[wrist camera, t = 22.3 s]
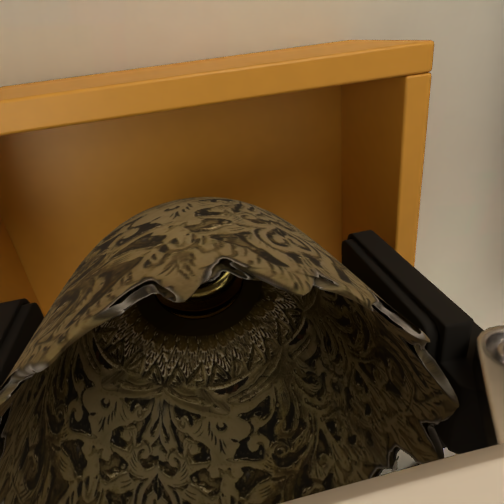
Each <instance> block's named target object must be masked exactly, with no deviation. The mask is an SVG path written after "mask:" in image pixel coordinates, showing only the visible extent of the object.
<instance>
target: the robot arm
mask: <svg viewBox="0 0 504 504" xmlns="http://www.w3.org/2000/svg"><path fill="white" fill-rule="evenodd" d="M341 255H342V264H343V265H344V266H345V267H346V268H347V269H348V270H350V271H351V272H352V273H353V274H354V275H355V276H356V277H358V278H359V279H360V280H361V281H362V282H363V283H364V284H366V285H367V286H368V287H369V288H370V289H371V290H372V291H373V292H375V293H376V294H377V295H378V296H379V297H380V298H381V299H383V300H384V301H385V302H386V303H387V304H388V305H390V306H391V307H392V308H393V309H394V310H396V311H397V312H398V313H399V314H400V315H402V316H403V317H404V318H406V319H407V320H409V321H410V322H411V323H413V324H414V325H415V326H416V327H418V328H419V329H420V330H421V331H423V332H424V333H425V334H426V336H427V337H428V338H429V339H430V343H426V345H425V347H424V348H425V349H426V351H427V352H428V353H429V354H430V355H431V356H432V357H433V358H434V360H435V361H436V363H437V364H438V366H439V367H440V369H441V370H442V372H443V373H444V375H445V376H446V378H447V380H448V381H449V383H450V385H451V386H452V388H453V390H454V392H455V394H456V396H457V398H458V401H459V407H458V408H457V409H456V410H455V412H454V413H453V415H451V416H450V417H449V418H448V419H447V420H445V421H441V422H440V423H438V424H437V425H433V426H434V428H435V430H436V433H437V435H438V437H439V440H440V442H441V444H442V448H445V447H447V448H448V450H449V451H452V452H454V453H456V455H455V456H451V457H447V458H443V459H440V460H436V461H432V462H429V463H425V464H421V465H418V466H414V467H410V468H407V469H403V470H400V471H396V472H392V473H389V474H385V475H381V476H378V477H374V478H370V479H367V480H363V481H359V482H356V483H352V484H348V485H345V486H341V487H337V488H334V489H330V490H326V491H323V492H319V493H316V494H312V495H308V496H305V497H301V498H298V499H294V500H290V501H287V502H283V503H280V504H504V326H496V327H491V328H488V329H486V330H483V329H481V328H480V327H479V326H478V325H477V324H476V323H475V322H474V321H473V319H472V318H471V317H470V316H468V315H467V314H466V313H465V312H464V311H463V310H462V309H461V308H459V307H458V306H457V305H456V304H455V303H454V302H453V301H452V300H450V299H449V298H448V297H447V296H446V295H445V294H444V293H443V292H441V291H440V290H439V289H438V288H437V287H436V286H435V285H434V284H432V283H431V282H430V281H429V280H428V279H427V278H426V277H424V276H423V275H422V274H421V273H420V272H419V271H418V270H417V269H415V268H414V267H413V266H412V265H411V264H410V263H409V262H408V261H406V260H405V259H404V258H403V257H402V256H401V255H400V254H399V253H397V252H396V251H395V250H394V249H393V248H392V247H391V246H390V245H388V244H387V243H386V242H385V241H384V240H383V239H382V238H381V237H379V236H378V235H377V234H376V233H375V232H374V231H372V230H366V231H361V232H356V233H351V234H349V235H348V238H347V240H344V241H343V242H342V246H341ZM43 319H44V316H43V314H42V312H41V309H40V307H39V306H38V304H37V303H35V302H34V303H30V302H29V301H28V300H27V299H25V298H23V299H18V300H13V301H8V302H3V303H0V387H1V386H2V384H3V383H4V381H5V380H6V378H7V377H8V375H9V374H10V372H11V370H12V369H13V367H14V366H15V364H16V362H17V361H18V359H19V358H20V356H21V354H22V353H23V351H24V350H25V348H26V346H27V345H28V343H29V341H30V340H31V338H32V337H33V335H34V333H35V332H36V330H37V328H38V327H39V325H40V324H41V322H42V320H43Z"/></svg>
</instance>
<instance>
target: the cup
mask: <svg viewBox="0 0 504 504" xmlns="http://www.w3.org/2000/svg"><path fill="white" fill-rule="evenodd" d="M426 343H430V339H429V338H428V337H427V336H426V334H425V333H424V332H423V331H421V330H420V329H419V328H418V327H416V326H415V325H414V324H413V323H411V322H410V321H409V320H407V319H406V318H404V317H403V316H402V315H400V314H399V313H398V312H397V311H396V310H394V309H393V308H392V307H391V306H390V305H388V304H387V303H386V302H385V301H384V300H383V299H381V298H380V297H379V296H378V295H377V294H376V293H375V292H373V291H372V290H371V289H370V288H369V287H368V286H367V285H366V284H364V283H363V282H362V281H361V280H360V279H359V278H358V277H356V276H355V275H354V274H353V273H352V272H351V271H350V270H348V269H347V268H346V267H345V266H344V265H343V264H341V263H340V262H339V261H338V260H337V259H336V258H334V257H333V256H332V255H331V254H330V253H329V252H327V251H326V250H325V249H324V248H323V247H321V246H320V245H319V244H318V243H317V242H315V241H314V240H313V239H311V238H310V237H309V236H307V235H306V234H305V233H303V232H302V231H301V230H299V229H298V228H297V227H295V226H294V225H292V224H291V223H289V222H288V221H286V220H284V219H283V218H281V217H279V216H277V215H276V214H274V213H272V212H270V211H267V210H265V209H262V208H260V207H258V206H255V205H252V204H249V203H246V202H242V201H239V200H234V199H228V198H220V197H192V198H185V199H178V200H174V201H170V202H166V203H162V204H160V205H157V206H154V207H152V208H149V209H146V210H144V211H142V212H140V213H138V214H136V215H134V216H133V217H131V218H130V219H128V220H127V221H125V222H123V223H122V224H120V225H119V226H118V227H117V228H115V229H114V230H113V231H112V232H110V233H109V234H108V235H107V236H106V237H104V238H103V239H102V240H101V241H100V242H99V243H98V244H97V245H96V246H95V247H94V248H93V249H92V251H91V252H90V253H89V254H88V255H87V256H86V257H85V259H84V260H83V261H82V262H81V264H80V265H79V266H78V268H77V269H76V270H75V272H74V273H73V275H72V276H71V277H70V279H69V280H68V282H67V283H66V284H65V286H64V287H63V289H62V290H61V292H60V294H59V295H58V297H57V298H56V300H55V301H54V303H53V304H52V306H51V308H50V309H49V311H48V312H47V314H46V316H45V317H44V319H43V320H42V322H41V324H40V325H39V327H38V328H37V330H36V332H35V333H34V335H33V337H32V338H31V340H30V341H29V343H28V345H27V346H26V348H25V350H24V351H23V353H22V354H21V356H20V358H19V359H18V361H17V362H16V364H15V366H14V367H13V369H12V370H11V372H10V374H9V375H8V377H7V378H6V380H5V381H4V383H3V384H2V386H1V387H0V504H280V503H283V502H287V501H290V500H294V499H298V498H301V497H305V496H308V495H312V494H316V493H319V492H323V491H326V490H330V489H334V488H337V487H341V486H345V485H348V484H352V483H356V482H359V481H363V480H367V479H370V478H374V477H378V476H379V475H380V473H381V472H382V471H383V469H392V471H395V470H397V460H398V458H399V456H398V457H397V459H396V455H397V452H398V451H399V450H400V449H401V450H403V451H404V452H406V453H407V454H409V455H410V456H411V457H412V458H413V459H414V460H415V462H416V463H419V464H425V463H429V462H432V461H436V460H440V459H443V458H444V453H443V448H442V444H441V442H440V440H439V437H438V435H437V433H436V430H435V428H434V426H433V425H437V424H438V423H440V422H441V421H445V420H447V419H448V418H449V417H450V416H451V415H453V413H454V412H455V410H456V409H457V408H458V407H459V401H458V398H457V396H456V394H455V392H454V390H453V388H452V386H451V385H450V383H449V381H448V380H447V378H446V376H445V375H444V373H443V372H442V370H441V369H440V367H439V366H438V364H437V363H436V361H435V360H434V358H433V357H432V356H431V355H430V354H429V353H428V352H427V351H426V349H425V348H424V347H425V345H426ZM392 471H391V472H392Z"/></svg>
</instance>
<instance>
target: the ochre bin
mask: <svg viewBox="0 0 504 504" xmlns="http://www.w3.org/2000/svg"><path fill="white" fill-rule="evenodd" d="M433 51H434V42H433V41H431V40H347V41H339V42H332V43H324V44H317V45H310V46H302V47H295V48H287V49H280V50H272V51H265V52H257V53H250V54H243V55H235V56H228V57H220V58H213V59H205V60H198V61H190V62H183V63H176V64H168V65H161V66H153V67H146V68H138V69H131V70H123V71H116V72H109V73H101V74H94V75H86V76H79V77H71V78H64V79H56V80H49V81H42V82H34V83H27V84H19V85H12V86H4V87H0V303H3V302H8V301H13V300H18V299H23V298H25V299H27V300H28V301H29V302H30V303H34V302H35V303H37V304H38V306H39V307H40V309H41V312H42V314H43V316H44V317H45V316H46V314H47V312H48V311H49V309H50V308H51V306H52V304H53V303H54V301H55V300H56V298H57V297H58V295H59V294H60V292H61V290H62V289H63V287H64V286H65V284H66V283H67V282H68V280H69V279H70V277H71V276H72V275H73V273H74V272H75V270H76V269H77V268H78V266H79V265H80V264H81V262H82V261H83V260H84V259H85V257H86V256H87V255H88V254H89V253H90V252H91V251H92V249H93V248H94V247H95V246H96V245H97V244H98V243H99V242H100V241H101V240H102V239H103V238H104V237H106V236H107V235H108V234H109V233H110V232H112V231H113V230H114V229H115V228H117V227H118V226H119V225H120V224H122V223H123V222H125V221H127V220H128V219H130V218H131V217H133V216H134V215H136V214H138V213H140V212H142V211H144V210H146V209H149V208H152V207H154V206H157V205H160V204H162V203H166V202H170V201H174V200H178V199H185V198H192V197H220V198H228V199H234V200H239V201H242V202H246V203H249V204H252V205H255V206H258V207H260V208H262V209H265V210H267V211H270V212H272V213H274V214H276V215H277V216H279V217H281V218H283V219H284V220H286V221H288V222H289V223H291V224H292V225H294V226H295V227H297V228H298V229H299V230H301V231H302V232H303V233H305V234H306V235H307V236H309V237H310V238H311V239H313V240H314V241H315V242H317V243H318V244H319V245H320V246H321V247H323V248H324V249H325V250H326V251H327V252H329V253H330V254H331V255H332V256H333V257H334V258H336V259H337V260H338V261H339V262H340V263H341V264H342V255H341V246H342V242H343V241H344V240H347V238H348V235H349V234H351V233H356V232H361V231H366V230H372V231H374V232H375V233H376V234H377V235H378V236H379V237H381V238H382V239H383V240H384V241H385V242H386V243H387V244H388V245H390V246H391V247H392V248H393V249H394V250H395V251H396V252H397V253H399V254H400V255H401V256H402V257H403V258H404V259H405V260H406V261H408V262H409V263H410V264H411V265H412V266H413V267H414V262H415V251H416V240H417V229H418V218H419V207H420V196H421V185H422V174H423V163H424V152H425V141H426V130H427V119H428V108H429V97H430V85H431V73H428V72H430V71H431V69H432V62H433Z"/></svg>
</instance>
